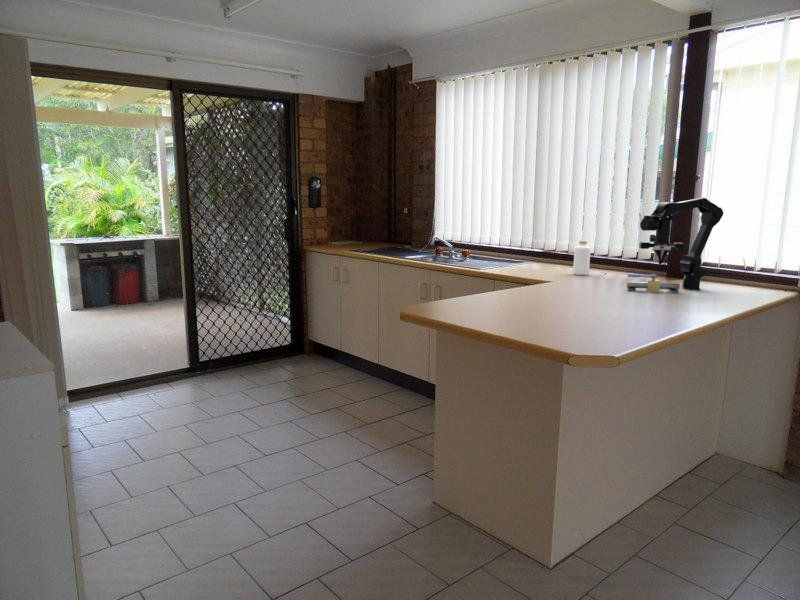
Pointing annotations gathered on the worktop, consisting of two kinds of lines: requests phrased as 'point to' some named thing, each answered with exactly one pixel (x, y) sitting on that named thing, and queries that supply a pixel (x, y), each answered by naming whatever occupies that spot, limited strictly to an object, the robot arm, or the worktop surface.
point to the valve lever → (642, 275)
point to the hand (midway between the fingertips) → (660, 264)
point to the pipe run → (653, 286)
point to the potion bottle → (581, 259)
